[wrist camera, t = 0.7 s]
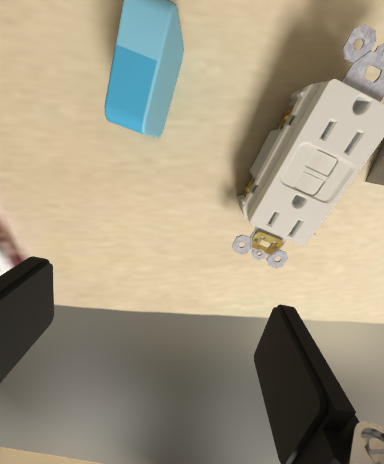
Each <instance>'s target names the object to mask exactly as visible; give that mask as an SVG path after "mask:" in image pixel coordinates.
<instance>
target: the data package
mask: <svg viewBox="0 0 384 464" xmlns="http://www.w3.org/2000/svg"><path fill="white" fill-rule="evenodd" d="M183 52H184V46H183V40H182V34H181V28H180V22H179V16H178V10H177V6H176V4H175V3H173V2H171V1H169V0H123V6H122V11H121V17H120V23H119V28H118V34H117V39H116V45H115V51H114V56H113V62H112V67H111V73H110V79H109V84H108V90H107V96H106V101H105V116H106V119H107V120H108V121H109V122H112V123H114V124H117V125H120V126H123V127H125V128H128V129H131V130H133V131H136V132H139V133H142V134H145V135H149V136H153V137H157V138H159V137H160V136H161V134H162V132H163V129H164V125H165V121H166V118H167V114H168V110H169V107H170V103H171V99H172V96H173V92H174V88H175V85H176V81H177V77H178V74H179V70H180V66H181V62H182V58H183Z"/></svg>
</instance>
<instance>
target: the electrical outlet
mask: <svg viewBox="0 0 384 464" xmlns="http://www.w3.org/2000/svg"><path fill="white" fill-rule="evenodd" d="M358 38H359V39H362V41H363V45H362V48H361V49H360V50H355V49H354V42H355V41H356V39H358ZM375 42H376V33H375V30H374V29H372V28H370V27H368V26H367V25H365V24H364V25H362V26H359V27H357V28H355V29H354V30H352V32H351V34H350V36H349V38H348V39H347V41H346V43H345V45H344V47H343V57H344V59H346V60H348V61H349V62H351V63H353V64H352V65H351V67H350V69H349V70H348V72H347V74H346V75H345V77H344V79H343V80H342V82H341V81H339V80H337V79H331V80H329V81H323V82H319V83H316V84H314V83H313V84H311V85H308V86H306V87H304V88H302V89H300V90H297V91H295V92H293V93H292V95H291V97H290V99H291V102H289V103H288V104H289V106H290V107H289V109H288V110H287V111H286V112H285V113H284V115H283V119H282V120H281V124H280V126H279V128H278V129H276V130H272V131H270V132H269V134H268V136H267V138H266V140H265V142H264V144H263V146H262V148H261V150H260V152H259V154H258V156H257V158H256V159H255V161H254V163H253V165H252V167H251V169H250V171H249V172H250V173H251V175H252V179H251V181H250V182H249V183H248V184H247V186H246V188H245V192H244V194H243V195H239V196H237V199H238V201H239V206H240V208H241V210H242V213H243V215H244V217H245V218H246V219H248V220H249V222H250V223H251V225H254V226H256V228H255V230H254V231H253V233H252V235H251V236H250V237H248V236H245V235H240V236H237V237H236V239H235V241H234V243H233V245H232V247H233V250H234V251H235V252H237V253H240V254H245V253H248V252H249V250H250V248H251V249H253V250H252V255H253V257H254V258H255V259H258V260H259V259H263V258H265V256H266V255H268V258H267V262H268V265H270V266H272V267H275V268H278V267H282V266H283V264H284V263H285V262H286V260H287V259H288V257H287V253H286V252H284V251H282V250H280V249H281V248H282V246H283V245H284V243H285V242H286V240H289V241H292V242H294V243H297V244H299V245H301V246H304V245H306V244H307V243H308V242H309V240H310V239H311V237H312V236H313V235H314V234H315V232H316V230H317V229H318V228H319V226H320V225H321V224H322V222H323V221H324V219H325V218H326V217H327V215H328V214H329V213H330V211H331V210H332V208H333V207H334V206H335V204H336V203H337V201H338V200H339V199H340V197H341V196H342V195H343V193H344V192H345V190H346V189H347V188H348V186H349V185H350V184H351V182H352V181H353V179H354V178H355V177H356V175H357V174H358V172H359V171H360V170H361V168H362V167H363V166H364V164H365V163H366V161H367V160H368V159H369V157H370V156H371V155H372V153H373V152H374V150H375V149H376V148H377V146H378V145H379V144H380V142H381V141H382V139H383V138H384V104H383V103H381V102H380V101H381V100H382V98H383V97H384V58H383V52H384V44H381V45H379V46H378V47H377V48H376V50H375V51H374V52H373V51H370V50H371V49H372V47H373V46H374V44H375ZM370 65H372V66H374V67H376V68H378V69H379V70H381V72H380V76H379V77H378V78H377V79H376V80H375V81H374V82H371V81H369V80H367V79H366V78H364V73H365V71H366V70H367V68H368V67H369V66H370ZM262 239H263V240H264V241H266V242H269V243H271V245H270V246H269V247H268V248H266V247H264V246H261V245H259V244H260V242H261V240H262ZM240 242H245V246H244V247H239V243H240ZM258 252H261V255H257V253H258ZM277 256H280V257H281V260H280V261H275V260H274V259H275V257H277Z"/></svg>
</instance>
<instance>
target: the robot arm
mask: <svg viewBox="0 0 384 464" xmlns="http://www.w3.org/2000/svg"><path fill="white" fill-rule="evenodd" d="M53 317H54V298H53V266H52V264H50V263H49V261H48V260H47V259H44V258H38V257H29V258H28V259H26V260H25V261H23V262H21V263H20V264H18V265H17V266H15V267H14V268H12V269H10V270H9V271H7V272H6V273H4V274H3V275H1V276H0V383H1V382H2V380H3V379H4V378H5V377H6V375H7V374H8V373H9V372H10V371H11V370H12V368H13V367H14V366H15V365H16V364H17V363H18V362H19V360H20V359H21V358H22V357H23V356H24V355H25V353H26V352H27V351H28V350H29V349H30V347H31V346H32V345H33V344H34V343H35V342H36V340H37V339H38V338H39V337H40V336H41V335H42V333H43V332H44V331H45V330H46V329H47V328H48V326H49V325H50V324H51V322H52V320H53ZM254 362H255V366H256V370H257V374H258V378H259V382H260V386H261V390H262V394H263V398H264V402H265V406H266V410H267V414H268V417H269V422H270V426H271V430H272V434H273V438H274V442H275V446H276V450H277V454H278V458H279V461H280V463H281V464H384V429H382V428H381V427H379V426H377V425H375V424H372V423H370V422H359V421H358V419H357V417H356V416H355V413H356V411H355V410H354V408H353V406H352V405H351V403H350V401H349V400H348V398H347V396H346V395H345V393H344V391H343V389H342V388H341V386H340V384H339V382H338V381H337V379H336V377H335V376H334V374H333V372H332V371H331V369H330V367H329V365H328V364H327V362H326V360H325V359H324V357H323V355H322V354H321V352H320V350H319V348H318V347H317V345H316V343H315V342H314V340H313V338H312V337H311V335H310V333H309V332H308V330H307V328H306V326H305V325H304V323H303V321H302V319H301V318H300V316H299V314H298V313H297V311H296V309H295V308H294V307H290V306H285V305H278V307H274V308H273V310H272V312H271V315H270V317H269V320H268V322H267V325H266V327H265V329H264V332H263V334H262V337H261V339H260V341H259V344H258V347H257V349H256V351H255V354H254ZM0 464H104V463H97V462H91V461H84V460H79V459H72V458H66V457H60V456H54V455H48V454H41V453H35V452H28V451H21V450H15V449H9V448H3V447H0Z"/></svg>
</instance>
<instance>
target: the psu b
mask: <svg viewBox="0 0 384 464" xmlns="http://www.w3.org/2000/svg"><path fill="white" fill-rule="evenodd" d="M366 182H370V183H374V184H379V185H384V141H383V144H382V146H381V148H380V150H379V152H378V155H377V157H376V159H375V161H374V164H373V166H372V168H371V170H370V173H369V175H368V177H367V179H366Z"/></svg>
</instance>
